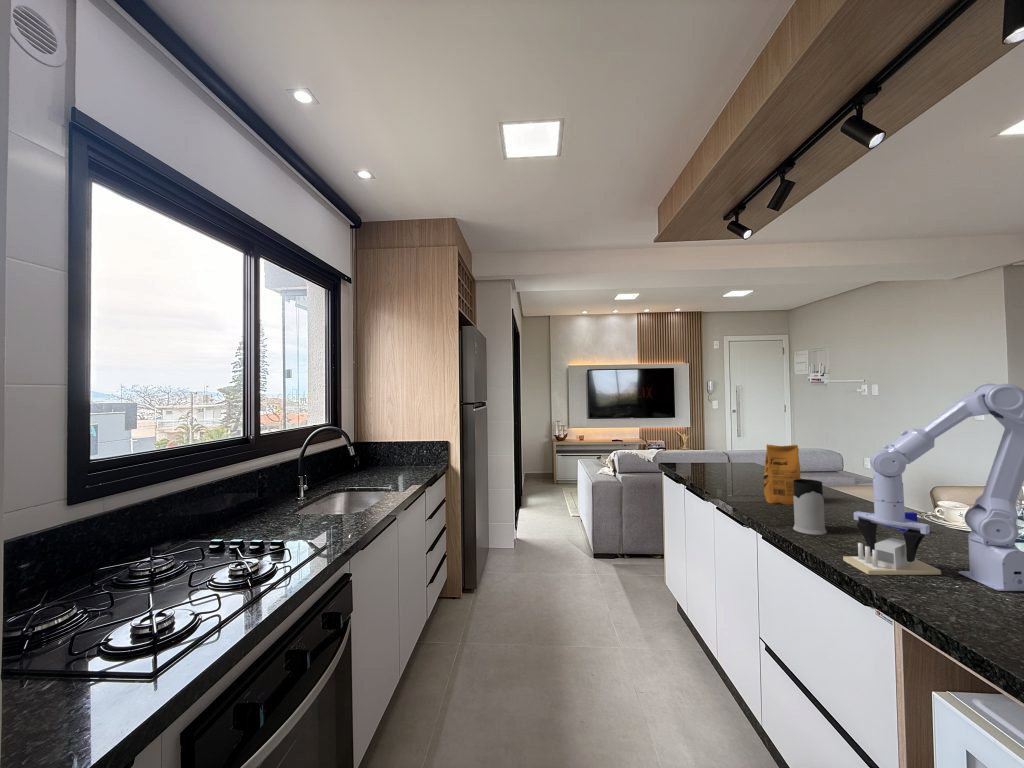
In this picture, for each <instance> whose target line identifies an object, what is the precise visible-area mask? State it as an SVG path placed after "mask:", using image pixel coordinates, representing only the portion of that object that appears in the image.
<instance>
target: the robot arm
mask: <svg viewBox="0 0 1024 768" xmlns="http://www.w3.org/2000/svg"><path fill="white" fill-rule="evenodd" d="M987 415H991V416H992V417H993V418H994V419H995V420H997V421H998V423H999V424H1000V425H1001V426H1002V427H1004V428H1003V429H1004V431H1003V433H1002V436H1001V439H1000V442H999V444H998V448H997V450H996V454H995V457H994V458H993V459H994V460H993V463H992V466H991V469H990V472H989V474H988V477H987V480H986V483H985V486H984V489H983V492H982V494H981V495H980V496H978V497H977V499H976V500H975V501H974V504H973V506H972V507H970V508H969V509H968V510H966V512H965V513H964V521H965V524H966V526H967V527H968V528H969V529H971V530H970V531H969V533H968V534H967V540H968V543H967V544H968V562H969V570H965V571H964V570H959V571H958V574H960V575H962V576H964V577H966V578H969V579H971V580H973V581H975V582H978V583H979V584H982V585H984V586H987V587H989V588H991V589H993V590H995V591H998V592H1024V551H1022V550H1020V549H1019V548H1018V547H1017V545H1016V540H1017V539H1018V537H1019V529H1018V525H1017V522H1018V517H1019V513H1018V509H1017V506H1016V504H1017V501H1018V498H1019V496H1020V492H1021V490H1022V487H1023V483H1024V389H1023V388H1021V387H1020V386H1018V385H1016V384H1013V383H999V384H998V383H985V384H982V385H980V386H978V387H976V388H975V389H974V390H973V391H970V392H968V393H966V394H964V395H963V396H961V397H960V398H959V399H957V400H956V401H955V402H953V403H952V404H951V405H950V406H949V407H947V408H946V409H945V410H943V411H942V412H941V413H939V414H938V415H937V416H936V417H935V418H933V419H932V420H931V421H929V422H928V423H927V424H925V425H923V427H921V428H910V429H909V430H906V429H903V430H902V431H901V432H899V435H900V436H899V437H898V438H896V439H894V440H893V441H892V442H890V443H889V444H884V445H883V446H882V448H883V449H882V450H877V451H876V452H874V453H872V455H871V458H870V459H869V464H870V466H871V468H872V469H873V470H872V471H873V473H872V477H873V479H872V492H873V510H874V512H866V511H865V512H864V511H860V510H857V511H853V520H855V521H858V522H857V523H856V526H857V528H858V530H859V531H860V532H861V534H862V537H863V538H864V541H865V543H866V546H869V547H870V553H872V550H875V543H877V527H878V525H881V526H885V525H886V526H885V527H887V526H891V527H890V528H894V527H896V528H901V529H906V530H908V531H907V532H902V533H903V538H904V541H905V543H906V557H907V561H908V562H913V561H915V559H916V554H917V551H918V549H919V546H920V544H921V542H922V540H923V539H924V538H925V536H926V535H928V534H930V532H931V531H930V530H931V529H930V524H927V523H922V522H918V521H917V522H915V521H912V520H908V519H905V512H906V511H905V493H904V483H903V473H904V472H905V470H906V467H907V466H906V465H910V464H912V463H913V462H915V461H916V460H918V458H921V457H922V456H923V455H925V454H927V452H929V451H930V450H932V449H933V448H935V441H936V439H937V438H939V437H940V436H941V435H943V434H945V433H946V432H948V431H950V430H951V429H953V428H954V427H955V426H957V425H959V424H960V423H962V422H963V421H965V420H966V419H967V420H968V418H971V417H977V416H987ZM896 528H895V529H896Z"/></svg>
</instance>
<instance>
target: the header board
mask: <svg viewBox="0 0 1024 768" xmlns="http://www.w3.org/2000/svg"><path fill="white" fill-rule="evenodd" d="M857 553H858V555H857V556H854V555H853V556H851V555H850V556H846V555H845V556H842V559H843V561H844V562H846V563H847V564H849V565H851V566H852V567H854V568H856V569H857V570H860V571H862V572H863V573H864V574H867V575H869V576H881V575H882V576H883V575H884V576H887V575H889V576H894V575H895V576H900V575H901V576H902V575H903V576H904V575H906V576H909V575H912V576H914V575H917V576H920V575H921V576H922V575H923V576H924V575H927V576H928V575H933V576H934V575H935V576H936V575H940V576H941V575H942V570H941V569H939V568H937V567H934V566H932V565H930V564H928V563H926V562H924V561H922V560H919V559H917V558H915V561H913V562H911V563H909V564H907V565H905V566H903V567H901V568H899V569H896V570H895V569H891V568H887V567H884V566H880V565H878V551H877V550H872V552H870V547H869V546H867V545H865V546H864V543H863V542H857ZM871 554H872V555H871ZM864 555H865V556H864Z"/></svg>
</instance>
